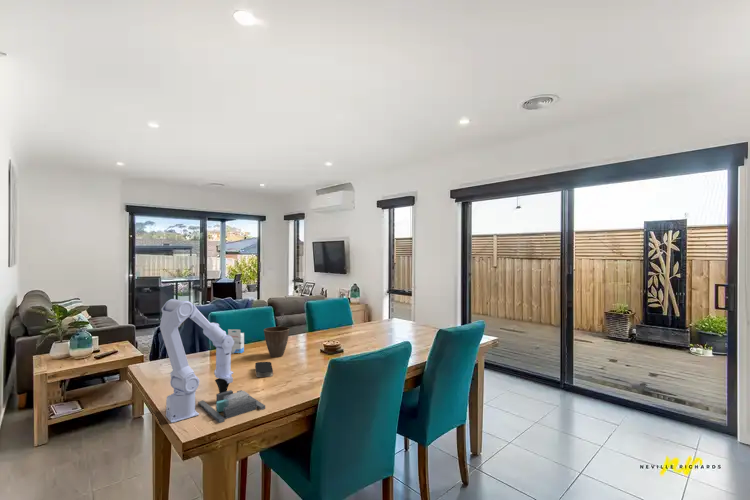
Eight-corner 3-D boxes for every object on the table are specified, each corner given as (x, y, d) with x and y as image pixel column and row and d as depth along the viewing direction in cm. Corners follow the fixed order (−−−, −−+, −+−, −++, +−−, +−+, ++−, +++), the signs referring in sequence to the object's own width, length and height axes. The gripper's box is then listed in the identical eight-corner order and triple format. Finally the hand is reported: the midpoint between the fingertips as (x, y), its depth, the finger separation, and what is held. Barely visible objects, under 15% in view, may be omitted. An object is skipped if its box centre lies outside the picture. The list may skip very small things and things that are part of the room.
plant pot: (258, 357, 212) (258, 330, 212) (272, 351, 226) (272, 325, 226) (280, 360, 207) (281, 332, 207) (293, 353, 221) (294, 327, 222)
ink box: (244, 351, 225) (244, 328, 225) (240, 353, 220) (240, 329, 220) (231, 351, 225) (231, 327, 226) (227, 353, 220) (227, 329, 221)
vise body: (219, 423, 131) (219, 413, 131) (198, 404, 146) (198, 396, 146) (265, 408, 143) (265, 399, 143) (241, 392, 159) (241, 384, 159)
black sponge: (254, 369, 192) (254, 362, 192) (271, 367, 195) (271, 360, 195) (255, 379, 177) (255, 371, 177) (273, 377, 180) (273, 370, 180)
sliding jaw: (218, 412, 139) (218, 403, 139) (208, 404, 146) (208, 395, 146) (248, 403, 147) (248, 394, 147) (237, 396, 154) (237, 388, 154)
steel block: (228, 415, 137) (228, 399, 137) (223, 411, 140) (223, 396, 140) (249, 409, 142) (249, 394, 142) (243, 405, 146) (243, 390, 146)
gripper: (240, 365, 148) (239, 398, 148) (226, 357, 159) (225, 388, 159) (222, 368, 143) (222, 403, 143) (209, 360, 154) (209, 392, 154)
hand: (223, 395), depth 151 cm, fingers closed
